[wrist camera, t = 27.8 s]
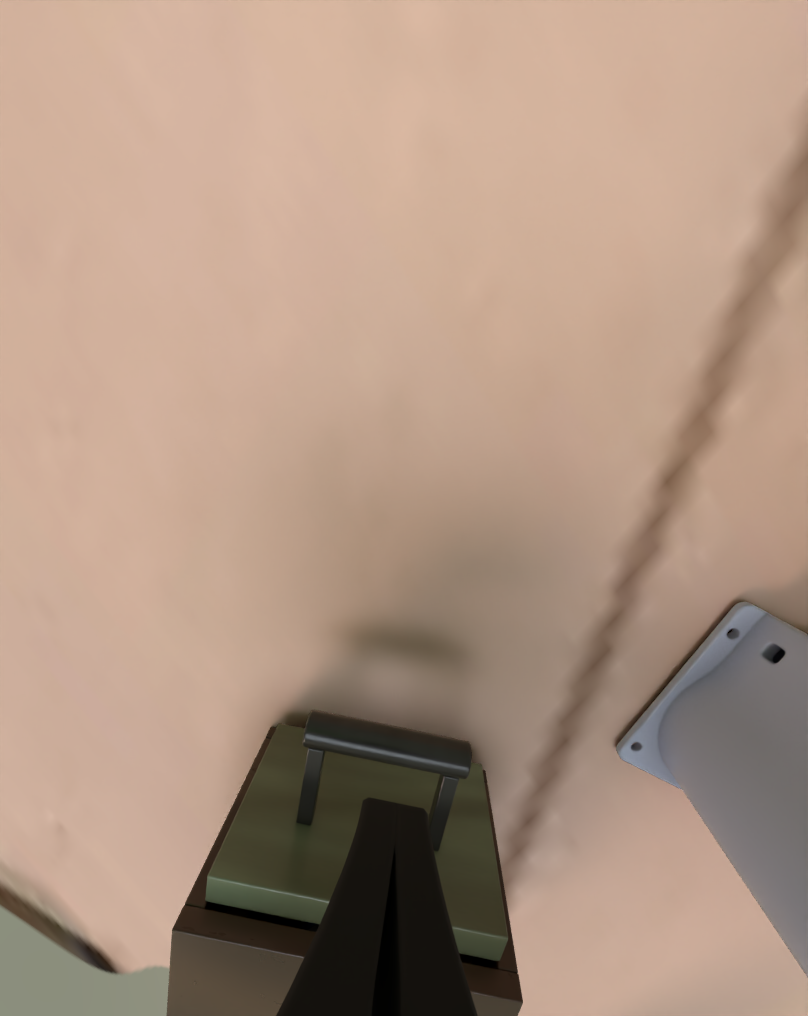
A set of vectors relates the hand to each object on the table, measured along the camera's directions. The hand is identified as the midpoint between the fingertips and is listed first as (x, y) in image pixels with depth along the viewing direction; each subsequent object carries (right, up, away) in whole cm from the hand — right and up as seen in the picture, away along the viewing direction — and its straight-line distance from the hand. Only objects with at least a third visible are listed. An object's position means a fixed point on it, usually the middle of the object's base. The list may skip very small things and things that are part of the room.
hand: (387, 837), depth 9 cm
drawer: (-2, -8, +12) cm, 14 cm away
